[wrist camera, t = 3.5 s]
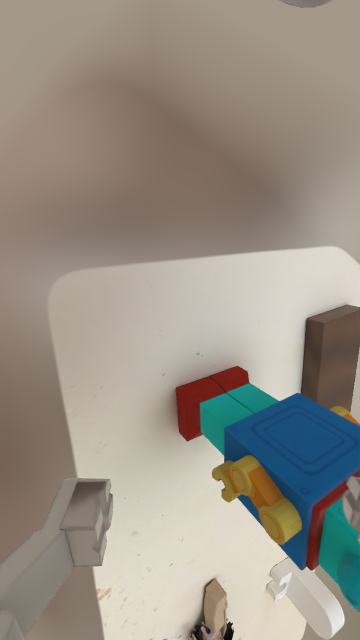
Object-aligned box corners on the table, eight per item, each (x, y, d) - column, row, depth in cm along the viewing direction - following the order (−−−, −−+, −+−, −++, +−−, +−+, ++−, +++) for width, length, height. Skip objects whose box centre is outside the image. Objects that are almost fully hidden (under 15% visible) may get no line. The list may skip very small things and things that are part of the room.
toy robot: (164, 437, 30) (519, 898, 9) (160, 387, 28) (596, 825, 7) (247, 401, 35) (590, 639, 14) (248, 356, 33) (645, 557, 12)
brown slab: (306, 318, 37) (324, 323, 35) (347, 304, 41) (365, 308, 39) (296, 461, 45) (310, 472, 43) (331, 437, 49) (345, 446, 47)
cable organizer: (271, 567, 50) (324, 634, 42) (306, 545, 55) (359, 600, 47) (265, 591, 51) (315, 660, 43) (300, 566, 56) (351, 624, 48)
